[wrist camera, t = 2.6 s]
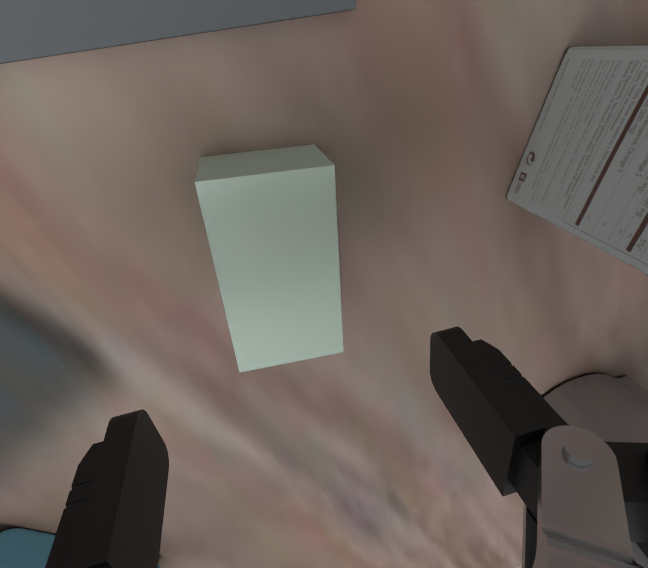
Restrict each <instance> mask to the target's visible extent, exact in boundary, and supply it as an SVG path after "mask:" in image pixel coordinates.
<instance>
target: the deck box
mask: <svg viewBox="0 0 648 568" xmlns="http://www.w3.org/2000/svg"><path fill="white" fill-rule="evenodd" d="M195 186H196V190H197V195H198V199H199V203H200V207H201V211H202V216H203V220H204V224H205V228H206V233H207V237H208V241H209V245H210V250H211V254H212V258H213V262H214V266H215V271H216V275H217V279H218V283H219V288H220V292H221V296H222V300H223V304H224V309H225V313H226V317H227V321H228V326H229V330H230V334H231V338H232V342H233V347H234V351H235V355H236V359H237V364H238V368H239V372H244V371H249V370H254V369H260V368H265V367H270V366H275V365H280V364H285V363H290V362H295V361H300V360H306V359H311V358H316V357H321V356H326V355H331V354H336V353H341V352H343V333H342V312H341V291H340V269H339V248H338V227H337V206H336V185H335V165H334V164H333V163H332V162H331V161H330V160H329V159H328V158H327V157H326V156H325V155H324V153H323V152H322V151H321V150H320V149H319V148H318V147H317V146H316V145H315V144H312V145H303V146H294V147H285V148H276V149H267V150H258V151H249V152H240V153H232V154H223V155H214V156H205V157H200V159H199V164H198V169H197V173H196V178H195Z"/></svg>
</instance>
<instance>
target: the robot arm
mask: <svg viewBox="0 0 648 568" xmlns="http://www.w3.org/2000/svg"><path fill="white" fill-rule="evenodd" d="M430 375H431V380H432V383H433V385H434V388H435V390H436V392H437V393H438V395H439V397H440V398H441V400H442V401H443V403H444V404H445V406H446V408H447V409H448V411H449V412H450V414H451V416H452V417H453V419H454V420H455V422H456V423H457V425H458V427H459V428H460V430H461V431H462V433H463V435H464V436H465V438H466V439H467V441H468V442H469V444H470V446H471V447H472V449H473V450H474V452H475V454H476V455H477V457H478V458H479V460H480V461H481V463H482V465H483V466H484V468H485V469H486V471H487V472H488V474H489V476H490V477H491V479H492V480H493V482H494V484H495V485H496V487H497V488H498V490H499V491H500V493H501V495H502V496H506V495H509V494H512V493H515V492H517V493H518V494H519V496H520V497H521V499H522V500H523V502H524V503H525V504H524V512H523V543H522V568H648V392H647V391H646V390H645V389H644V388H642V387H641V386H640V385H639V384H637V383H636V382H635V381H634V380H632V379H631V378H630V377H629V376H625V377H622V378H615V377H612V376H610V375H606V374H592V375H586V376H583V377H579V378H576V379H574V380H571V381H569V382H567V383H565V384H563V385H561V386H559V387H558V388H556V389H554V390H553V391H552V392H550V393H549V394H547V395H546V396H545V397H544V398H543V397H542V396H541V395H540V394H539V393H538V392H537V391H536V390H535V388H534V387H533V386H532V385H531V384H530V383H529V382H528V381H527V380H526V379H525V378H524V377H522V375H521V373H520V372H519V371H518V370H517V369H516V368H515V367H514V366H512V365H511V362H510V361H509V360H508V359H507V358H506V357H505V356H504V355H503V354H502V353H501V352H500V350H499V349H497V348H495V347H493V346H492V345H490V344H488V343H486V342H485V341H483V340H481V339H480V340H477V341H473V342H472V340H471V339H470V338H469V337H468V336H467V335H466V333H465V332H464V331H463V330H462V329H461V328H460V327H453V328H450V329H446V330H442V331H438V332H435V333H432V334H431V340H430ZM168 471H169V458H168V452H167V448H166V445H165V443H164V441H163V439H162V438H161V436H160V434H159V432H158V431H157V429H156V427H155V426H154V424H153V422H152V420H151V419H150V417H149V415H148V413H147V412H146V411H145V410H143V409H142V410H138V411H135V412H131V413H127V414H123V415H120V416H116V417H113V418H111V420H110V421H109V424H108V427H107V431H106V434H105V438H104V441H103V442H99V443H95V444H93V445H92V446H91V448H90V449H89V451H88V452H87V454H86V455H85V456H84V458H83V459H82V461H81V462H80V463H79V465H78V468H77V471H76V474H75V477H74V480H73V483H72V486H71V487H72V490H71V491H70V492H69V495H68V499H67V502H66V509H64V511H63V514H62V517H61V520H60V523H59V526H58V529H57V532H56V535H55V538H54V541H53V545H52V548H51V551H50V554H49V557H48V560H47V563H46V566H45V568H158V560H159V551H160V542H161V533H162V524H163V515H164V506H165V497H166V488H167V479H168Z"/></svg>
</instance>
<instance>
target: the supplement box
mask: <svg viewBox="0 0 648 568" xmlns="http://www.w3.org/2000/svg"><path fill="white" fill-rule="evenodd" d="M507 200H509V201H511V202H513V203H514V204H516V205H518V206H520V207H522V208H524V209H526V210H528V211H530V212H532V213H534V214H536V215H538V216H539V217H541V218H543V219H545V220H547V221H549V222H551V223H553V224H555V225H556V226H558V227H560V228H562V229H564V230H566V231H567V232H569V233H571V234H573V235H575V236H577V237H579V238H580V239H582V240H584V241H586V242H588V243H590V244H592V245H594V246H595V247H597V248H599V249H601V250H603V251H605V252H607V253H608V254H610V255H612V256H614V257H616V258H618V259H620V260H621V261H623V262H625V263H627V264H629V265H631V266H632V267H634V268H636V269H638V270H640V271H642V272H643V273H645V274H647V275H648V46H600V47H570V48H569V49H568V51H567V53H566V54H565V56H564V58H563V61H562V63H561V66H560V68H559V70H558V72H557V74H556V77H555V79H554V82H553V84H552V87H551V89H550V92H549V94H548V96H547V98H546V101H545V103H544V106H543V108H542V111H541V113H540V116H539V118H538V120H537V122H536V125H535V127H534V130H533V132H532V135H531V137H530V140H529V142H528V144H527V147H526V149H525V151H524V154H523V157H522V159H521V161H520V164H519V166H518V169H517V171H516V174H515V176H514V179H513V181H512V184H511V186H510V189H509V191H508V194H507Z"/></svg>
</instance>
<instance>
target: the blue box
mask: <svg viewBox="0 0 648 568" xmlns="http://www.w3.org/2000/svg"><path fill="white" fill-rule="evenodd" d="M54 538H55V535H53V534H48V533H43V532H38V531H33V530H28V529H23V528H13V529H8V530H5V531H3V532H1V533H0V568H45V566H46V563H47V560H48V557H49V554H50V551H51V548H52V545H53V541H54ZM158 568H160V566H159V564H158Z"/></svg>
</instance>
